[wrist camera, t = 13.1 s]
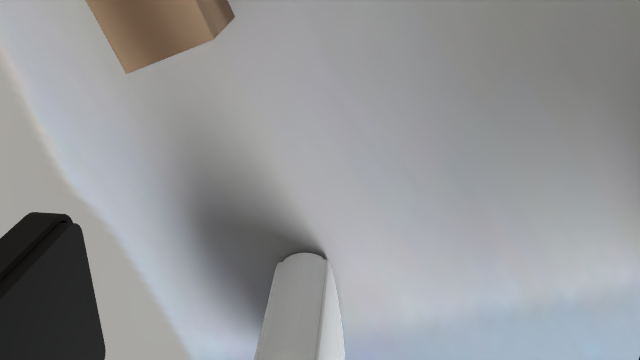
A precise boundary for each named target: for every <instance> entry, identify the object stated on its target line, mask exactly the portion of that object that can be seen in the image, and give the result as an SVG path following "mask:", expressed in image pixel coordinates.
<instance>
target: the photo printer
mask: <svg viewBox="0 0 640 360" xmlns="http://www.w3.org/2000/svg"><path fill="white" fill-rule="evenodd" d="M254 360H345V350H344V339H343V329H342V321H341V314H340V308H339V301H338V295H337V290H336V284H335V279H334V275H333V271H332V268H331V265H330V263H329V260H324V259H323V258H322V257H321V256H319V255H316V254H312V253H297V254H293V255H291V256H289V257H287V258H286V259H285V260H284V261H283V262H279V263H278V264H277V266H276V269H275V273H274V277H273V282H272V286H271V290H270V295H269V299H268V303H267V307H266V311H265V316H264V320H263V324H262V328H261V333H260V337H259V341H258V345H257V349H256V353H255V357H254Z"/></svg>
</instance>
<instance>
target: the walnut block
mask: <svg viewBox="0 0 640 360" xmlns="http://www.w3.org/2000/svg"><path fill="white" fill-rule="evenodd" d="M86 1H87V3H88V5H89V7H90V9H91V11H92V12H93V14H94V16H95V18H96V20H97V21H98V23H99V25H100V27H101V29H102V31H103V32H104V34H105V36H106V38H107V40H108V42H109V43H110V45H111V47H112V49H113V51H114V52H115V54H116V56H117V58H118V60H119V62H120V63H121V65H122V67H123V69H124V71H125V73H126V74H128V73H130V72H133V71H135V70H138V69H140V68H143V67H145V66H148V65H150V64H153V63H155V62H158V61H160V60H163V59H165V58H168V57H170V56H173V55H175V54H178V53H180V52H183V51H185V50H188V49H191V48H193V47H196V46H198V45H201V44H203V43H206V42H208V41H211V40H213V39H215V38H216V36H217V35H218V34H219V33H220V32H221V31H222V30H223V29H224V28H225V27H226V26H227V25H228V24H229V23H230V22H231V21H232V20H233V18H234V17H235V16H234V14H233V12H232V10H231V7H230V5H229V3H228V1H227V0H86Z"/></svg>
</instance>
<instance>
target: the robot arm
mask: <svg viewBox="0 0 640 360" xmlns="http://www.w3.org/2000/svg"><path fill="white" fill-rule="evenodd" d="M104 359H105V344H104V339H103V334H102V329H101V324H100V319H99V314H98V309H97V304H96V298H95V293H94V289H93V283H92V278H91V273H90V269H89V263H88V258H87V253H86V248H85V243H84V238H83V233H82V230H81V228H80V226H79V225H78V224H75V223H73V222H72V220H71V218H70V217H69V216H68V215H66V214H54V213H38V212H32V213H29V214H28V215H26V216H25V217H24V218H23V219H22V220H21V221H20V222H18V223H17V224H16V225H15V226H14V227H13V228H12V229H10V230H9V231H8V232H7V233H6V234H5V235H4V236H3V237H2V238H0V360H104ZM639 360H640V357H639Z"/></svg>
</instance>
